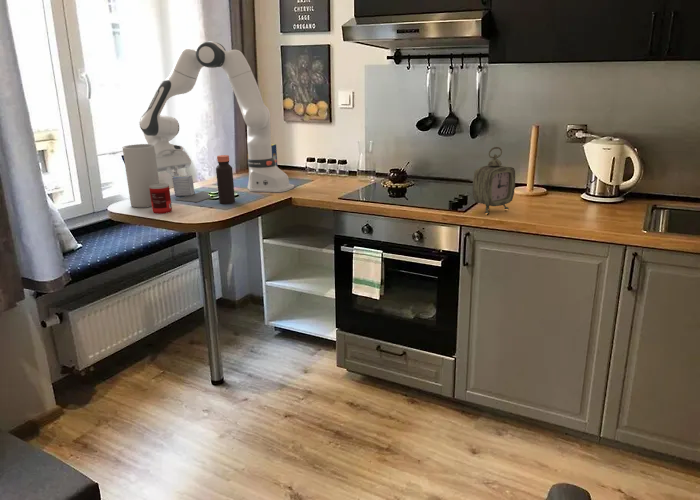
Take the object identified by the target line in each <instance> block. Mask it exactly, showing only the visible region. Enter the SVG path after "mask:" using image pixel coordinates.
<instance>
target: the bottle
mask: <svg viewBox="0 0 700 500" xmlns="http://www.w3.org/2000/svg"><path fill="white" fill-rule="evenodd" d="M216 161H217V163H218V165H217V166H216V168H215V173H216V183H217V193H218V202H219V204H222V205H229V204H233V203H235V202H236V197H235V196H236V195H235V187H234V183H235V182H234V174H233V167H232V166H231V165H230V164H229V163H230V156H229V155H228V154H221V155H220V154H219V155H217V156H216Z"/></svg>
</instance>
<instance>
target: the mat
mask: <svg viewBox="0 0 700 500" xmlns="http://www.w3.org/2000/svg"><path fill="white" fill-rule="evenodd" d="M211 192H212V191H202V190H201V191H198V192H196V193H194V194H193V195H189V196H181V197H180V198H177V199H175V201H179V202H180V201H181V202H189V203H200V202H203V201H207V200H209V199H211V196H210V195H208V194H209V193H211Z"/></svg>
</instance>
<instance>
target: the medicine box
mask: <svg viewBox="0 0 700 500" xmlns="http://www.w3.org/2000/svg"><path fill="white" fill-rule="evenodd" d="M193 180H194V178H193V175H191V174H190V175H189V174H188V175H179V176H175V177H172V178H171V181H172V184H173V185H172V186H173V191H174V196H175V197H185V196H189V195H193V194H195V186H194V181H193Z"/></svg>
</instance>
